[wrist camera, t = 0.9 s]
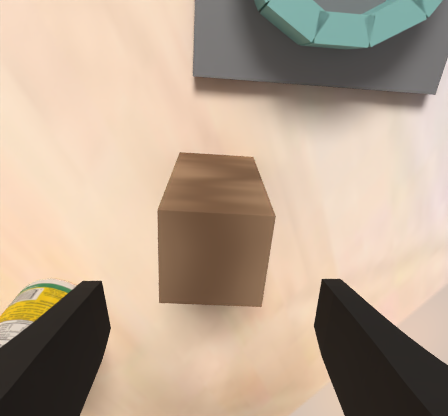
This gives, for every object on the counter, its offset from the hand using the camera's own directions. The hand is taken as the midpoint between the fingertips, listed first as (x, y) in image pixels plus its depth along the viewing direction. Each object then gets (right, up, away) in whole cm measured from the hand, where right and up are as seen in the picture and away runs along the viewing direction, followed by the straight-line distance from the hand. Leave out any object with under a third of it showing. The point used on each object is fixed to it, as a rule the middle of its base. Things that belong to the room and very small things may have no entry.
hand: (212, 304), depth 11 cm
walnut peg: (0, +4, +9) cm, 10 cm away
